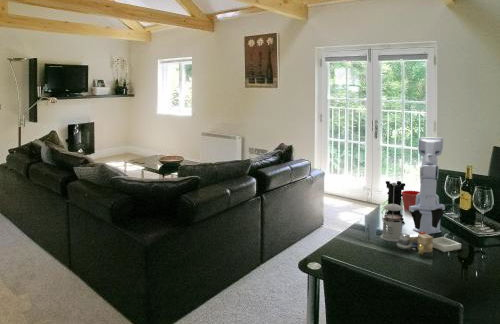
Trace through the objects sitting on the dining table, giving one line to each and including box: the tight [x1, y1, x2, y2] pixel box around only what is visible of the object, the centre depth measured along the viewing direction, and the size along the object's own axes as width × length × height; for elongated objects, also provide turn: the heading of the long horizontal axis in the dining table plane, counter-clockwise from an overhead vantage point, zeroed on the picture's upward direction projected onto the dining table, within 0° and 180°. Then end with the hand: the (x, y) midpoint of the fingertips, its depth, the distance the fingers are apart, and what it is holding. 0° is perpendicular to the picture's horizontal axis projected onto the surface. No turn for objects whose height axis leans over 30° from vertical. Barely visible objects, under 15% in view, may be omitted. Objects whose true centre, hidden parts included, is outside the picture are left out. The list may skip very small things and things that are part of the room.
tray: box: [432, 236, 462, 253], centre depth 162 cm, size 9×9×2 cm
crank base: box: [396, 241, 424, 256], centre depth 159 cm, size 6×12×4 cm, turn 20°
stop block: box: [416, 234, 434, 253], centre depth 158 cm, size 4×4×6 cm
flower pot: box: [401, 190, 420, 212], centre depth 218 cm, size 11×11×10 cm
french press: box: [379, 182, 404, 242], centre depth 173 cm, size 10×12×25 cm
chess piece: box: [383, 180, 406, 225], centre depth 196 cm, size 8×8×20 cm
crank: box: [399, 231, 425, 244], centre depth 162 cm, size 11×4×4 cm, turn 100°
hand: (425, 227), depth 157 cm, fingers open, 7 cm apart
